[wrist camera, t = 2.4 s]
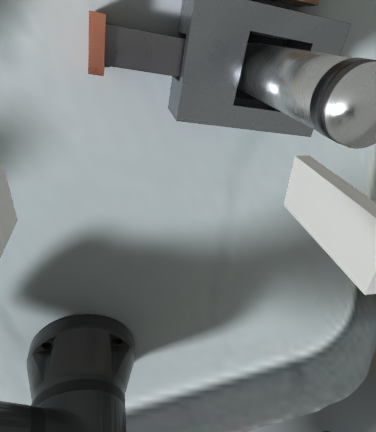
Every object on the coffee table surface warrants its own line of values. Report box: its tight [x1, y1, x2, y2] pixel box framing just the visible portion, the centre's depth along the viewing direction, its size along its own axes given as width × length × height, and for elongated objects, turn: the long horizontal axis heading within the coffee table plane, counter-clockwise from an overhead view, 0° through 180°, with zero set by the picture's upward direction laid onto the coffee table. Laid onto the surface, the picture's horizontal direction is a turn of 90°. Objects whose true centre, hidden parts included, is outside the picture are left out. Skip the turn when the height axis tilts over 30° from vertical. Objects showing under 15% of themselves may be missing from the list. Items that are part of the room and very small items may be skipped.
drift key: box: [88, 11, 186, 77], centre depth 28 cm, size 8×4×4 cm, turn 81°
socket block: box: [168, 0, 351, 137], centre depth 31 cm, size 14×10×5 cm
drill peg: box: [237, 43, 376, 148], centre depth 25 cm, size 5×5×18 cm
